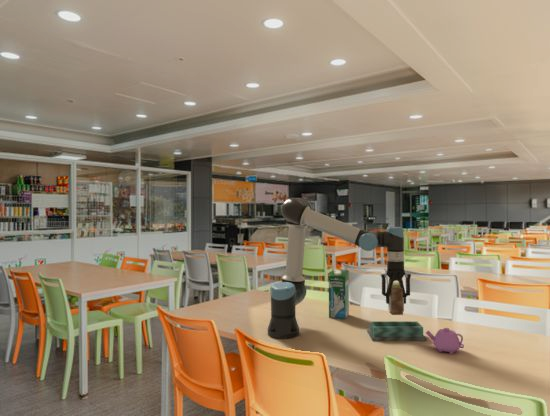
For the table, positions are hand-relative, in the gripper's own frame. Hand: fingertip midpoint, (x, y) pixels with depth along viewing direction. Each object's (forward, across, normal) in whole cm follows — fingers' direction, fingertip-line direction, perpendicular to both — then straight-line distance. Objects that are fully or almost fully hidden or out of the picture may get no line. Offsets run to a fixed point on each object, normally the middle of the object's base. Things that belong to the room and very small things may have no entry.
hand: (396, 310), depth 188 cm
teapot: (+12, +16, -17) cm, 26 cm away
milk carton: (+12, -22, +34) cm, 42 cm away
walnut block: (+1, 0, 0) cm, 1 cm away
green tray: (+12, 0, 0) cm, 12 cm away
